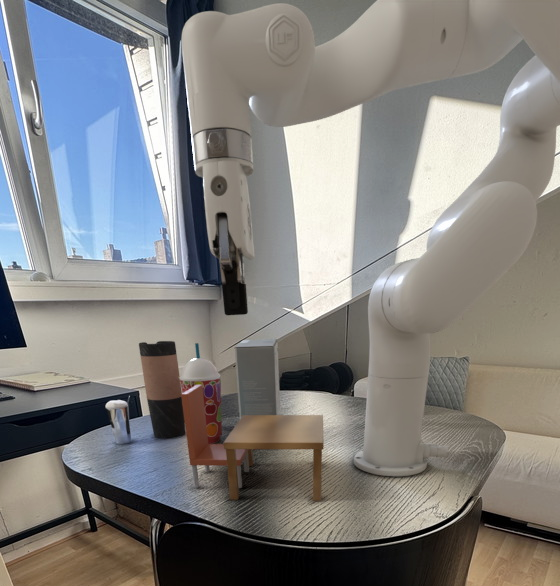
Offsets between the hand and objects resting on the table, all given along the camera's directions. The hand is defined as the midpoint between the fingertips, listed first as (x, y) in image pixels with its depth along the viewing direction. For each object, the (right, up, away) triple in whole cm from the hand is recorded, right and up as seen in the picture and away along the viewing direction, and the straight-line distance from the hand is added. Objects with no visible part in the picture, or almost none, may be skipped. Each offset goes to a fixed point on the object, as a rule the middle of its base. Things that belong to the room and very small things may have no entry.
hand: (236, 314), depth 60 cm
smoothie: (-10, -15, +29) cm, 34 cm away
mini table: (+6, -24, +8) cm, 26 cm away
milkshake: (-28, -15, +30) cm, 43 cm away
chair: (-3, -24, +8) cm, 26 cm away
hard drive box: (+3, -14, +30) cm, 33 cm away
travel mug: (-19, -12, +35) cm, 41 cm away
